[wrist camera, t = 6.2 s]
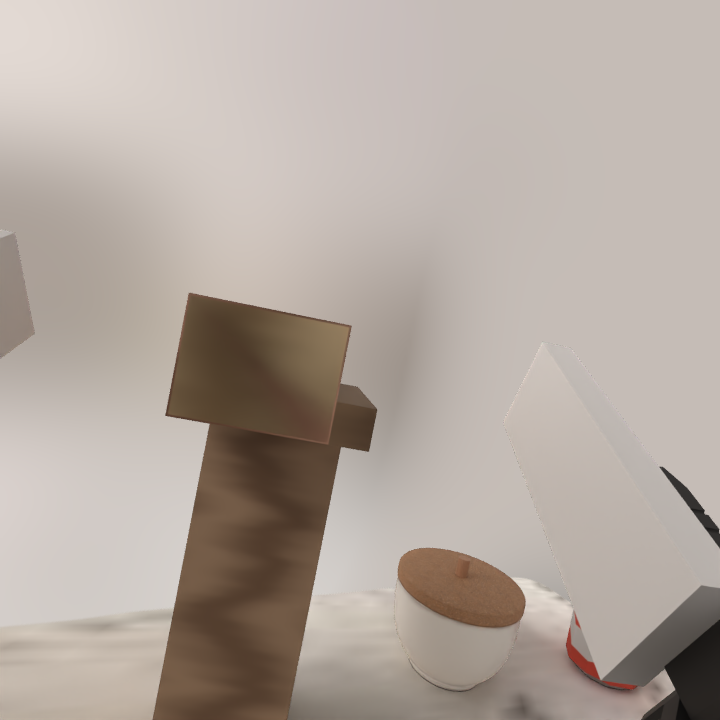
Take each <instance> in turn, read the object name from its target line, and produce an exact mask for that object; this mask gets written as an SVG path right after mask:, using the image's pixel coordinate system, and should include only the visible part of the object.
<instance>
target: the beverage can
mask: <svg viewBox="0 0 720 720" xmlns="http://www.w3.org/2000/svg"><path fill="white" fill-rule="evenodd" d="M566 647H567V651H568V655H569V657H570V658H571V659H572V660H573V661H574V662H575V663H576V666H577V667H578V668H579V669H580V670H581V671H582V672H584V673H585V674H586V675H587V676H588V677H589V678H591V679H593V680H595V681H597V682H598V683H600V684H602V685H604V686H606V687H611V688H616V689H621V690H622V689H624V688H626V689H631V690H632V689H634V688H635V687H637V686H636V685H629V684H622V683H615V682H608V681H601V680H600V677H599V675H598V672H597V669H596V667H595V664H594V661H593V659H592V656H591V653H590V651H589V648H588V646H587V643H586V640H585V638H584V635H583V632H582V630H581V627H580V624H579V622H578V619H577V616H576V614H575V611H574V609H573V614H572V619H571V624H570V628H569V633H568V638H567V643H566Z"/></svg>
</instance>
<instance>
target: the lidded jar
mask: <svg viewBox="0 0 720 720" xmlns="http://www.w3.org/2000/svg"><path fill="white" fill-rule="evenodd" d="M525 602H526V601H525V596H524V594H523V592H522V590H521V589H520V587H519V586H518V585H517V584H516V583H515V582H514V581H513V580H512V579H511V578H510V577H508V576H507V575H506V574H505V573H503V572H501V571H500V570H498V569H497V568H495V567H493V566H492V565H489V564H488V563H485V562H484V561H481V560H479V559H477V558H474V557H471V556H469V555H465V554H462V553H459V552H454V551H451V550H445V549H437V548H419V549H414V550H411V551H409V552H407V553H406V554H404V555H403V556H402V557H401V559H400V562H399V566H398V578H397V583H396V589H395V600H394V620H395V626H396V630H397V634H398V637H399V640H400V642H401V645H402V647H403V649H404V650H405V652H406V654H407V655H408V657H409V660H410V663H411V665H412V666H413V668H414V669H415V670H416V671H417V673H418V674H420V675H421V676H422V677H423V678H424V679H426V680H427V681H429V682H430V683H432V684H434V685H436V686H438V687H441V688H444V689H447V690H452V691H466V690H469V689H472V688H473V687H475V686H476V685H477V684H479V683H482V682H484V681H486V680H488V679H489V678H491V677H492V676H494V675H495V674H496V673H497V672H498V671H499V670H500V669H501V668H502V666H503V665H504V664H505V662H506V660H507V658H508V656H509V654H510V653H511V651H512V648H513V646H514V643H515V640H516V637H517V633H518V629H519V625H520V620H521V618H522V616H523V613H524V609H525Z"/></svg>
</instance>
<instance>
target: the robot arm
mask: <svg viewBox="0 0 720 720" xmlns="http://www.w3.org/2000/svg"><path fill="white" fill-rule="evenodd" d="M34 333H35V332H34V327H33V322H32V317H31V312H30V307H29V302H28V296H27V292H26V286H25V281H24V277H23V271H22V266H21V261H20V255H19V251H18V245H17V240H16V235H15V232H10V231H6V230H1V229H0V358H2V357H3V356H5V355H6V354H7V353H9V352H10V351H12V350H13V349H14V348H16V347H17V346H18V345H20V344H21V343H23V342H24V341H25V340H27V339H28V338H29V337H31V336H32V335H33V334H34ZM503 423H504V426H505V429H506V431H507V434H508V437H509V440H510V442H511V445H512V447H513V450H514V453H515V455H516V458H517V460H518V463H519V466H520V469H521V471H522V474H523V477H524V479H525V482H526V484H527V487H528V490H529V492H530V495H531V498H532V500H533V503H534V505H535V508H536V511H537V513H538V516H539V519H540V521H541V524H542V526H543V529H544V532H545V534H546V537H547V540H548V542H549V545H550V547H551V550H552V553H553V555H554V558H555V561H556V563H557V566H558V569H559V572H560V574H561V577H562V579H563V582H564V585H565V587H566V590H567V593H568V595H569V598H570V601H571V603H572V606H573V609H574V611H575V614H576V616H577V619H578V622H579V624H580V627H581V630H582V632H583V635H584V638H585V640H586V643H587V646H588V648H589V651H590V653H591V656H592V659H593V661H594V664H595V667H596V669H597V672H598V675H599V677H600V680H601V681H608V682H615V683H622V684H629V685H636V686H643V687H644V686H645V685H646V684H647V683H648V682H650V681H651V680H652V679H653V678H654V677H656V676H657V675H658V674H659V673H660V672H661V671H663V670H664V669H666V671H667V673H668V675H669V677H670V679H671V681H672V683H673V685H674V687H675V689H676V690H675V691H674V692H672V693H671V694H670V695H669V696H667V697H666V698H665V699H664V700H662V701H661V702H660V703H658V704H657V705H656V706H655V707H653V708H652V709H651V710H650V711H648V712H647V713H646V714H644V716H643V718H642V719H641V720H720V534H719V528H718V527H717V526H716V525H715V523H714V522H713V521H712V519H711V518H710V517H709V515H705V514H704V511H705V510H704V509H703V508H702V507H701V505H700V504H699V503H698V501H697V500H696V499H695V497H694V496H693V495H692V494H691V492H690V491H689V490H688V489H687V488H686V487H685V486H684V485H683V484H682V483H681V482H680V481H678V480H677V479H676V478H675V477H674V476H673V475H672V474H670V473H669V472H668V471H667V470H666V469H665V468H663V467H659V466H658V465H657V463H656V462H655V461H654V459H653V458H652V457H651V456H650V454H649V453H648V451H647V450H646V449H645V447H644V446H643V445H642V443H641V442H640V441H639V439H638V438H637V437H636V435H635V434H634V433H633V431H632V430H631V428H630V427H629V426H628V425H627V423H626V422H625V420H624V419H623V418H622V416H621V415H620V414H619V412H618V411H617V410H616V408H615V407H614V406H613V404H612V403H611V402H610V400H609V399H608V398H607V396H606V395H605V393H604V392H603V391H602V389H601V388H600V387H599V386H598V384H597V383H596V381H595V380H594V379H593V377H592V376H591V375H590V373H589V372H588V371H587V370H586V368H585V367H584V365H583V364H582V363H581V361H580V360H579V359H578V357H577V356H576V355H575V353H574V352H573V351H572V349H571V348H570V347H566V346H561V345H555V344H551V343H546V342H542V344H541V346H540V348H539V350H538V352H537V355H536V356H535V359H534V360H533V362H532V364H531V367H530V368H529V370H528V372H527V375H526V377H525V379H524V381H523V383H522V385H521V387H520V389H519V391H518V393H517V395H516V397H515V399H514V401H513V403H512V405H511V407H510V409H509V411H508V413H507V415H506V417H505V419H504V421H503Z"/></svg>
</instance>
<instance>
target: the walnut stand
mask: <svg viewBox="0 0 720 720" xmlns="http://www.w3.org/2000/svg"><path fill="white" fill-rule="evenodd" d="M376 413H377V409H376V407H375V406H374V405H373V404H372V403H371V402H370V401H369V400H368V398H367V397H366V396H365V395H364V394H363V393H362V391H361V390H360V389H359V388H358V387H355V386H350V385H344V384H340V388H339V393H338V398H337V403H336V408H335V413H334V418H333V423H332V428H331V433H330V438H329V443H328V445H327V444H322V443H316V442H310V441H305V440H299V439H293V438H288V437H282V436H277V435H271V434H265V433H260V432H254V431H248V430H243V429H237V428H231V427H226V426H220V425H215V424H210V425H209V431H208V436H207V441H206V446H205V451H204V457H203V462H202V467H201V472H200V477H199V482H198V487H197V493H196V498H195V503H194V508H193V513H192V518H191V524H190V529H189V534H188V539H187V544H186V550H185V555H184V560H183V565H182V570H181V575H180V581H179V586H178V592H177V597H176V602H175V607H174V612H173V617H172V622H171V627H170V632H169V638H168V643H167V648H166V653H165V658H164V664H163V669H162V674H161V679H160V684H159V689H158V695H157V700H156V705H155V710H154V715H153V720H287V716H288V711H289V706H290V701H291V696H292V691H293V686H294V681H295V676H296V671H297V666H298V661H299V656H300V651H301V646H302V641H303V636H304V631H305V626H306V621H307V616H308V611H309V605H310V600H311V595H312V590H313V585H314V580H315V575H316V570H317V565H318V560H319V555H320V550H321V545H322V540H323V535H324V530H325V525H326V520H327V514H328V509H329V505H330V500H331V494H332V489H333V484H334V479H335V474H336V469H337V464H338V459H339V454H340V449H341V447H345V448H351V449H356V450H362V451H367V452H368V451H369V448H370V443H371V438H372V433H373V428H374V423H375V418H376Z"/></svg>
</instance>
